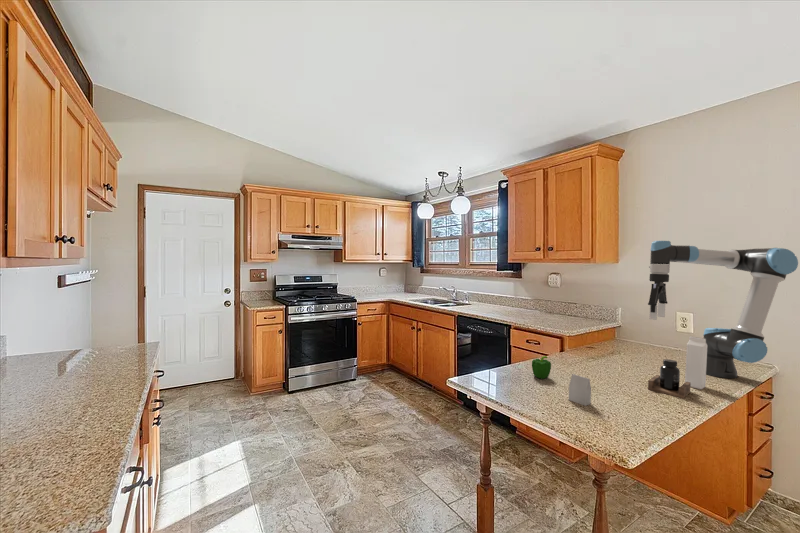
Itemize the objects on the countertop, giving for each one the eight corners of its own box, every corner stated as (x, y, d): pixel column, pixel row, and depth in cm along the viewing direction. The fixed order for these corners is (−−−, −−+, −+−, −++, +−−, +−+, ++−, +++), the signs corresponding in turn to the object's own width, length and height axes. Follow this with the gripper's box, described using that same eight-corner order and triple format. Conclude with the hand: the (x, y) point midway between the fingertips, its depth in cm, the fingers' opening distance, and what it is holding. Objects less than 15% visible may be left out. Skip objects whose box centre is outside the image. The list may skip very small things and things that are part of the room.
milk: (701, 389, 160) (704, 339, 159) (684, 385, 165) (687, 337, 164) (705, 386, 164) (708, 338, 163) (688, 382, 169) (691, 335, 168)
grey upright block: (585, 405, 138) (586, 379, 138) (568, 399, 144) (569, 374, 143) (590, 403, 140) (591, 378, 140) (573, 398, 146) (574, 373, 146)
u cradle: (655, 383, 166) (656, 374, 166) (690, 391, 157) (690, 382, 157) (647, 389, 158) (648, 380, 158) (683, 398, 149) (684, 388, 149)
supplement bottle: (675, 386, 160) (677, 359, 159) (681, 392, 153) (683, 363, 153) (657, 384, 162) (658, 357, 162) (662, 389, 155) (663, 361, 155)
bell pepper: (530, 378, 168) (531, 357, 168) (531, 373, 176) (532, 352, 176) (550, 381, 165) (551, 359, 165) (550, 376, 173) (551, 355, 172)
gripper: (657, 272, 184) (655, 314, 185) (642, 273, 167) (639, 319, 168) (675, 273, 178) (673, 316, 179) (661, 274, 162) (659, 321, 162)
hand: (657, 318), depth 173 cm, fingers open, 13 cm apart
